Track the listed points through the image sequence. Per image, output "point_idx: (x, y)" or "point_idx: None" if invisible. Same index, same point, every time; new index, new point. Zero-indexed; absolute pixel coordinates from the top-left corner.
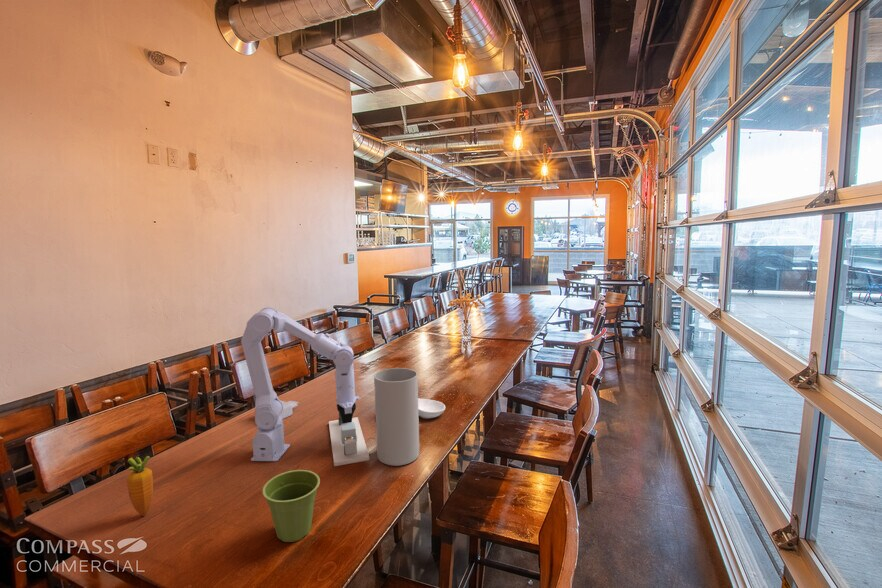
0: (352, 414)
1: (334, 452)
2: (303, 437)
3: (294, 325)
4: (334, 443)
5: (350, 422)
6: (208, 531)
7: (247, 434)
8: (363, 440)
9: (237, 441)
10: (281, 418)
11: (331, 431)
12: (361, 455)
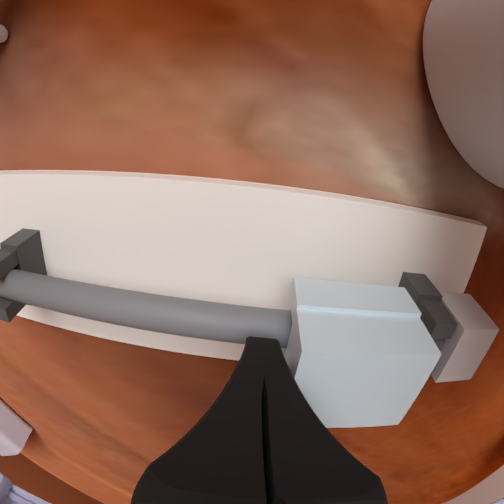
0: (326, 432)
1: None
2: (120, 405)
3: None
4: None
5: (299, 375)
6: (434, 489)
7: (86, 468)
8: (301, 199)
9: (120, 484)
10: (5, 407)
11: (107, 333)
12: (456, 258)
